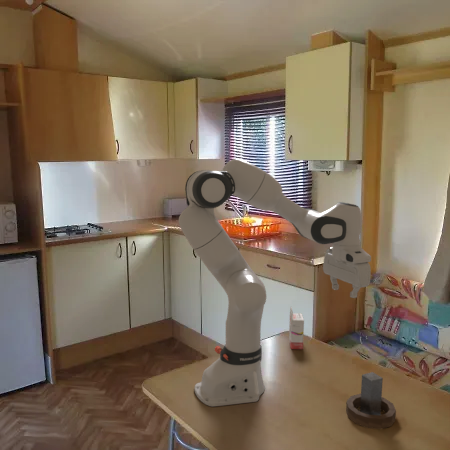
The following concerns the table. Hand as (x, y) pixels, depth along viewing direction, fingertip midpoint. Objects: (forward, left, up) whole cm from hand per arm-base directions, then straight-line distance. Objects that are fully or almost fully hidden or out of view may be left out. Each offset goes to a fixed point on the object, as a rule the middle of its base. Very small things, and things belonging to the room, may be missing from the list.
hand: (344, 293), depth 156 cm
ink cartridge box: (0, +28, -29) cm, 41 cm away
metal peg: (-7, -23, -29) cm, 38 cm away
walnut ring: (-7, -23, -29) cm, 38 cm away
